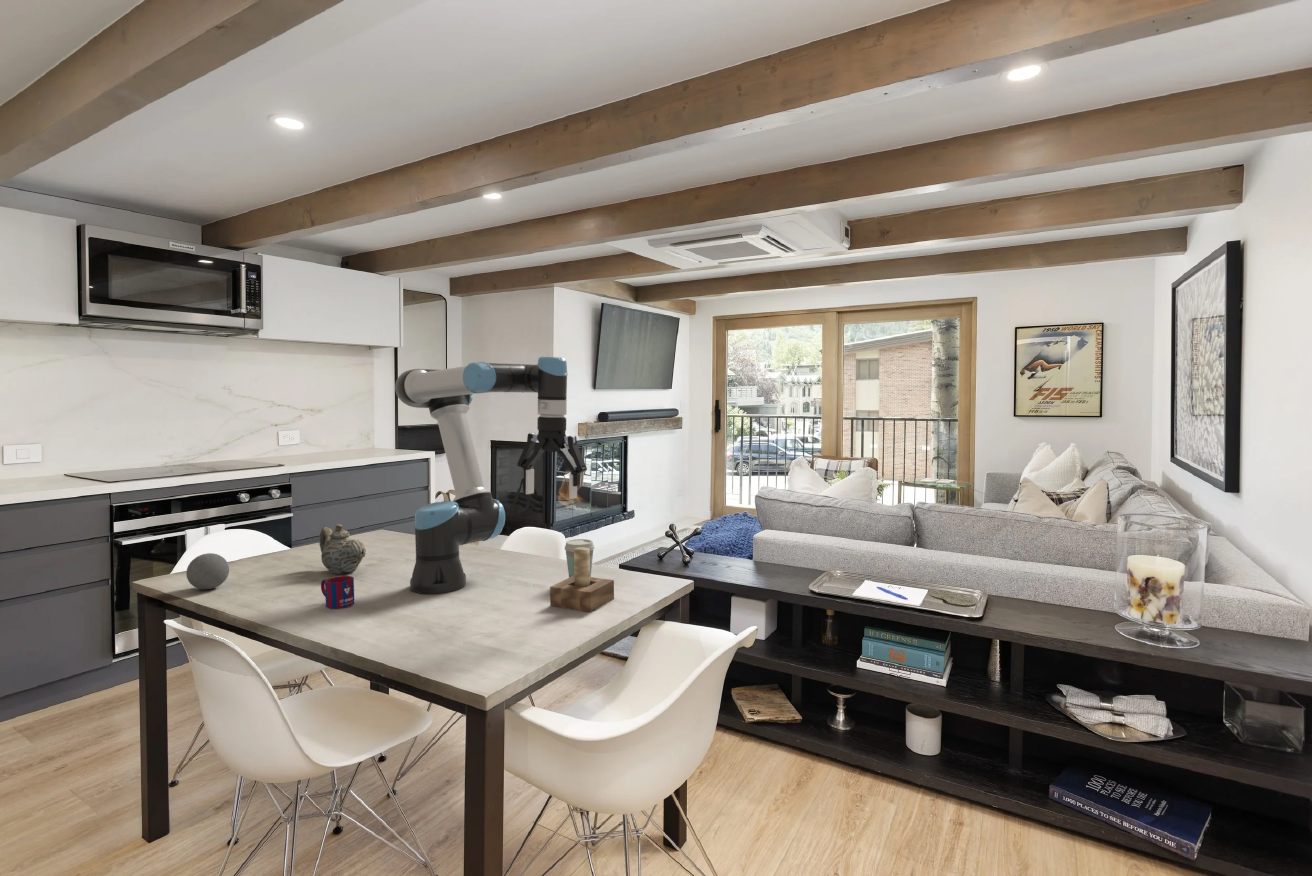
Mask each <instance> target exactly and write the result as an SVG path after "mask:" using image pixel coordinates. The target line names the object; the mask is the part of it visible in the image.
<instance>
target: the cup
mask: <svg viewBox="0 0 1312 876" xmlns="http://www.w3.org/2000/svg"><path fill="white" fill-rule="evenodd" d="M354 579H355V577H354V576H352V575H338V576H333V577H332V576H331V577H329V578H323V579H322V580H321V583H320V590H321V592H322V595H323V596H324V598H325V608H327V609H329V610H340V609H346V608H348V607H352V606H353V605H355V580H354Z"/></svg>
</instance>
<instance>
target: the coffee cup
mask: <svg viewBox="0 0 1312 876" xmlns="http://www.w3.org/2000/svg"><path fill="white" fill-rule="evenodd" d="M581 547H585V548H589V549H590V577H592V568H593V567H592V566H593V558H594V557H593V556H594V549H595V545H594V541H593V540H592V539H588V538H585V539H584V538H581V539H580V538H575V539H571V540H569V539H568V540H567V541H566V543H565V545H564V550H565V555H566V556H565V558H566V564H567V571H568V572H567V573H568V578H570V577H572V576H574V549H575V548H581Z"/></svg>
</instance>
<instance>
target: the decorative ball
mask: <svg viewBox="0 0 1312 876" xmlns="http://www.w3.org/2000/svg"><path fill="white" fill-rule="evenodd" d="M186 568H187V569H186V579H187V581H188V583H189V584H190V585H192V587H194V588H196V589H199V590H203V591H204V590H213V589H215V588H217V587H220V586H221V585H222V584H224V583H225V581H226V580H227V579H228V577H229V573H230V565H229V563H228V561H227V560H226V559H225V558H224V557H223V556H222V555H220V554H217V553H213V552H212V553H211V552H210V553H209V552H208V553H203V554H200V555H198V556H196V557H194V558H193V559H192V560H191V561H190V562H189V564H188V566H187V567H186Z"/></svg>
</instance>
